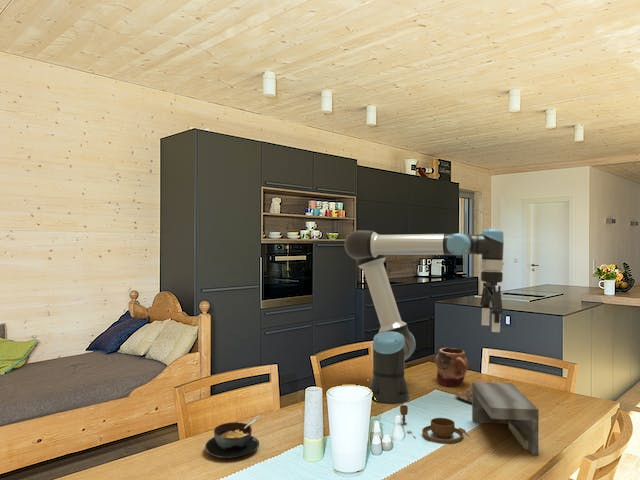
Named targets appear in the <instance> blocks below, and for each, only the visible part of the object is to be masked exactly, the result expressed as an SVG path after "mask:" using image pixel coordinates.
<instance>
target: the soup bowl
mask: <svg viewBox="0 0 640 480" xmlns="http://www.w3.org/2000/svg"><path fill="white" fill-rule="evenodd" d="M260 416H261V414H259V415H256V416H255V417H254V418H252V419H251V420H250V421H249V422H247V423H246V422H245V423H244V422H237V421H236V422H225V423H221V424H219V425H218V426H216V427H215V428H214V430H213V434H214V437H211V438H210V439H208V440H207V441H206V442H205V445H204V449H205V452H207V454H210V455H211V456H213V457H217V458H222V459H225V458H227V459H228V458H237V457H243V456H245V455H248V454H250V453H253V452H254V451H256V450H257V449H258V448H259V446H260V441H259V440H258V438H256V437H255V436H253V435H252V431H253V429H252V427H251V426H252V424H253V423H254V422H255V421H257V420H258V419H259V418H260Z"/></svg>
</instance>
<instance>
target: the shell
mask: <svg viewBox="0 0 640 480" xmlns="http://www.w3.org/2000/svg"><path fill="white" fill-rule="evenodd" d="M455 397H456V398H458V399H459V400H460V401H462V402H464V403H467V404H470V405H472V388H467V389H466V390H465V391H464V392H462V393H456V394H455Z"/></svg>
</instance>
